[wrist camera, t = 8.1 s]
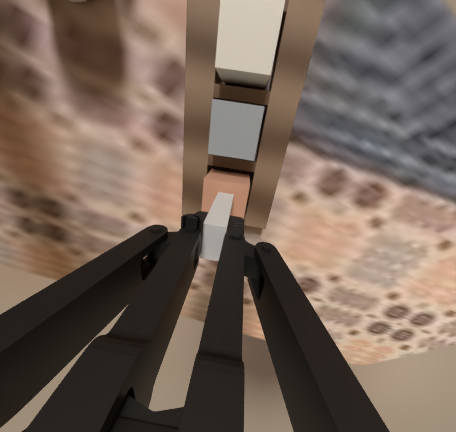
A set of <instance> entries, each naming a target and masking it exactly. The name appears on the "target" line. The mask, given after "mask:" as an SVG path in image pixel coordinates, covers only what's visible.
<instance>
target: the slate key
mask: <svg viewBox="0 0 456 432" xmlns="http://www.w3.org/2000/svg"><path fill="white" fill-rule="evenodd" d="M264 107H265V106H258V105H251V104H244V103H237V102H231V101H224V100H217V99H212V109H211V121H210V133H209V145H208V154H213V155H219V156H225V157H232V158H238V159H245V160H251V161H254V159H255V154H256V148H257V143H258V138H259V133H260V128H261V123H262V118H263V112H264Z"/></svg>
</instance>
